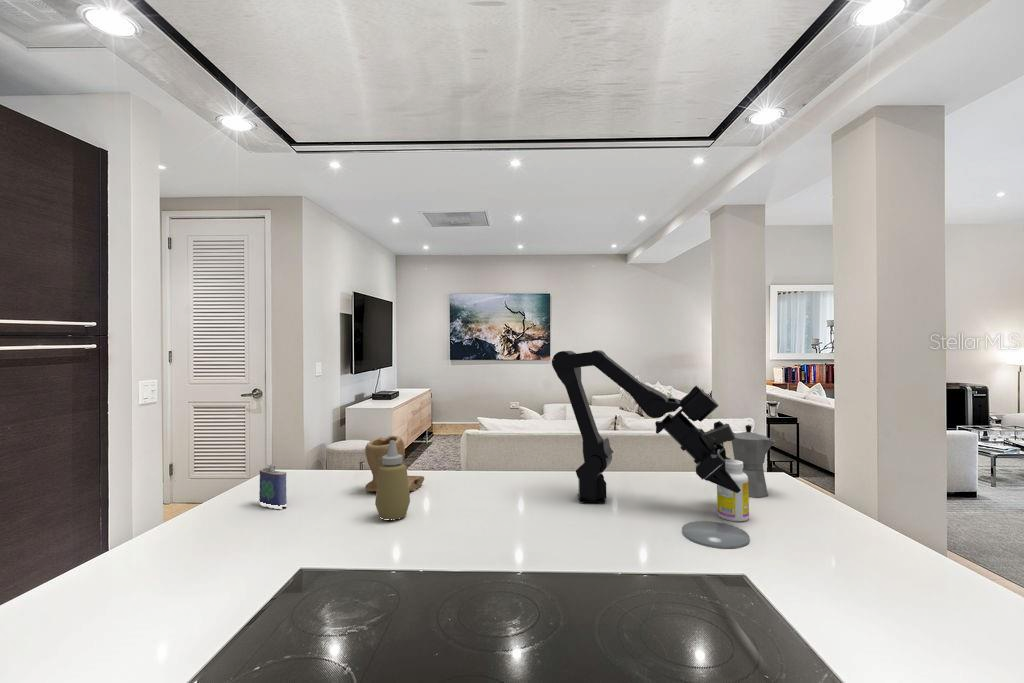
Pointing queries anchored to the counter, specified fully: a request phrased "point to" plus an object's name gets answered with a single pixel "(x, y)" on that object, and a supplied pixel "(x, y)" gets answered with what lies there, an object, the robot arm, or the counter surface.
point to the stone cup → (374, 459)
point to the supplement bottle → (734, 494)
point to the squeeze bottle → (392, 486)
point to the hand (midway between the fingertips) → (738, 485)
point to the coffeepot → (752, 459)
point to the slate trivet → (715, 534)
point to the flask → (272, 486)
